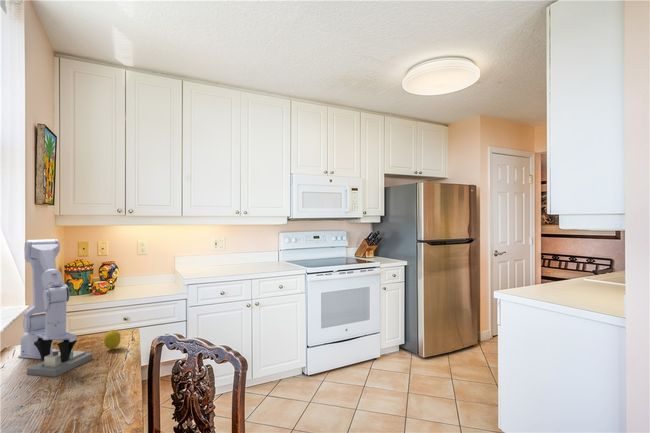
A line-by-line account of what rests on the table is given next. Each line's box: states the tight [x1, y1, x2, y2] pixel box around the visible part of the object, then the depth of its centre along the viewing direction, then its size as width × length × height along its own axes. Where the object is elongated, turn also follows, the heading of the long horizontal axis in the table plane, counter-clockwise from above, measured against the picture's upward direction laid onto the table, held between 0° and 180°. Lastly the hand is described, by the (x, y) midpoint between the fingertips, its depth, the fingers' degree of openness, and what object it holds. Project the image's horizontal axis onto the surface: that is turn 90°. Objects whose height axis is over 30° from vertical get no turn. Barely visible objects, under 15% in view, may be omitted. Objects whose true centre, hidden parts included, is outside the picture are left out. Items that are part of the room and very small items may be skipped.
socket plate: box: [26, 352, 94, 378], centre depth 121 cm, size 11×15×2 cm
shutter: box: [58, 350, 87, 360], centre depth 125 cm, size 6×6×3 cm
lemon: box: [103, 329, 121, 351], centre depth 137 cm, size 6×6×8 cm
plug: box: [44, 351, 65, 367], centre depth 119 cm, size 4×4×6 cm
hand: (55, 360), depth 119 cm, fingers open, 7 cm apart
